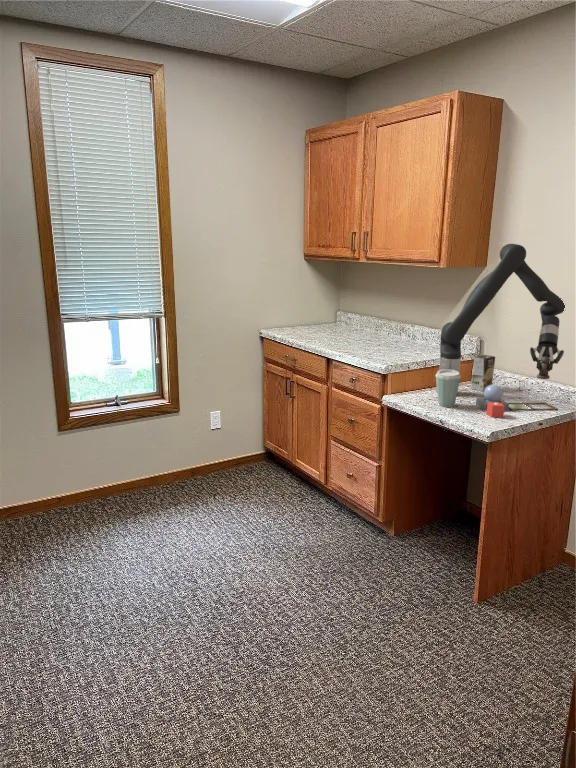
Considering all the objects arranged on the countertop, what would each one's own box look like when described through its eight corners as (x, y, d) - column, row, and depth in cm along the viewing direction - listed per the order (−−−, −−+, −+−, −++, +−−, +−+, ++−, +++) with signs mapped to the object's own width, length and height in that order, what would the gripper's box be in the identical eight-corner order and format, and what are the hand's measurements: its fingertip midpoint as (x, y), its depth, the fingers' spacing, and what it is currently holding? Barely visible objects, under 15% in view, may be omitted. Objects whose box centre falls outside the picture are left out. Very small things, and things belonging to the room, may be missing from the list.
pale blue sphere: (487, 406, 238) (489, 387, 236) (479, 401, 246) (481, 382, 244) (504, 406, 239) (506, 387, 237) (496, 401, 246) (498, 382, 244)
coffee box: (482, 391, 269) (486, 358, 265) (470, 389, 273) (473, 356, 270) (492, 388, 275) (495, 356, 271) (480, 386, 280) (483, 354, 276)
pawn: (540, 379, 239) (543, 357, 236) (534, 376, 243) (537, 355, 241) (551, 379, 239) (554, 357, 237) (545, 376, 244) (548, 355, 242)
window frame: (510, 410, 238) (510, 409, 238) (500, 404, 248) (500, 402, 248) (557, 410, 240) (557, 408, 240) (545, 403, 250) (545, 402, 249)
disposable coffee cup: (459, 409, 239) (462, 375, 235) (433, 407, 241) (436, 373, 237) (457, 402, 249) (460, 369, 245) (432, 401, 251) (434, 368, 247)
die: (491, 417, 228) (492, 405, 227) (486, 414, 233) (487, 402, 232) (503, 417, 228) (504, 405, 227) (498, 413, 233) (499, 401, 232)
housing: (485, 410, 237) (486, 404, 237) (475, 404, 247) (476, 397, 246) (508, 410, 238) (509, 403, 237) (497, 404, 248) (498, 397, 247)
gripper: (531, 330, 246) (526, 362, 238) (567, 333, 240) (563, 366, 233) (530, 340, 252) (525, 372, 244) (565, 343, 246) (561, 376, 238)
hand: (544, 369), depth 238 cm, fingers closed on pawn, 3 cm apart
